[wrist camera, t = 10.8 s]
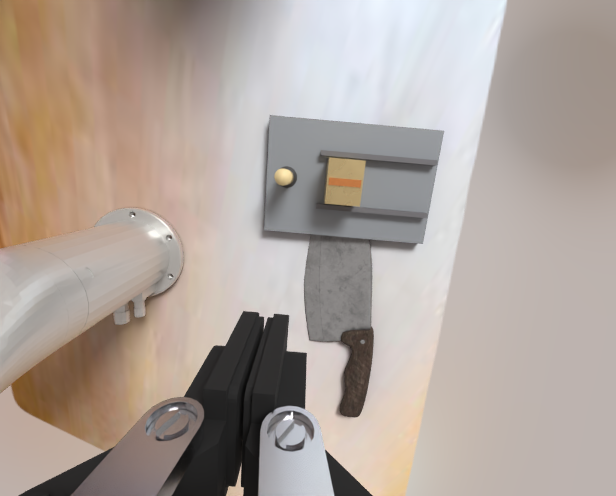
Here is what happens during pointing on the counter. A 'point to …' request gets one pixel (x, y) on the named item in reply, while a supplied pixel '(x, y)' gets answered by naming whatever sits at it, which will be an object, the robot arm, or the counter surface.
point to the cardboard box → (344, 181)
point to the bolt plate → (376, 184)
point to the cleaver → (342, 307)
